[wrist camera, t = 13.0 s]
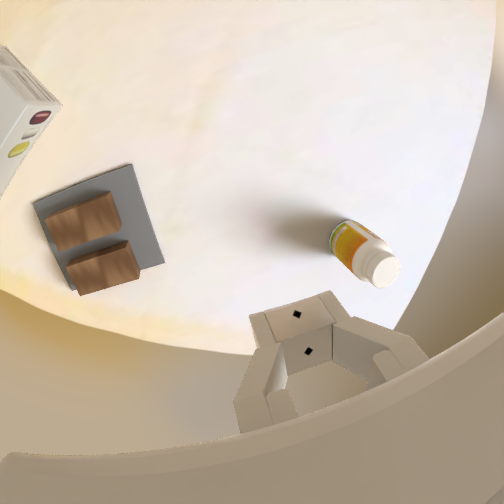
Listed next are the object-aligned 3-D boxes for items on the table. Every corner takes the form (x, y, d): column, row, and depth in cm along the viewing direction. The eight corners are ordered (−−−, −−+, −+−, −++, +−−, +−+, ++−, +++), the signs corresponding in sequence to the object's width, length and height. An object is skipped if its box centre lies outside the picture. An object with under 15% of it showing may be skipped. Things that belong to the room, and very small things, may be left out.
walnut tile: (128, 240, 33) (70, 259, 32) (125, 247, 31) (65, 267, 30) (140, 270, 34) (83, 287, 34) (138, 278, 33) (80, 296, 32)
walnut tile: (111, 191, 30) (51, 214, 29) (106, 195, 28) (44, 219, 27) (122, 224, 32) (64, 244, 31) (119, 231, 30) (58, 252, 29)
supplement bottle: (328, 260, 40) (364, 299, 32) (327, 223, 38) (368, 256, 29) (361, 252, 41) (402, 286, 33) (363, 216, 39) (407, 245, 30)
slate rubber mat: (34, 202, 28) (33, 203, 28) (132, 163, 30) (131, 164, 29) (72, 289, 34) (72, 290, 33) (164, 261, 35) (164, 263, 35)
